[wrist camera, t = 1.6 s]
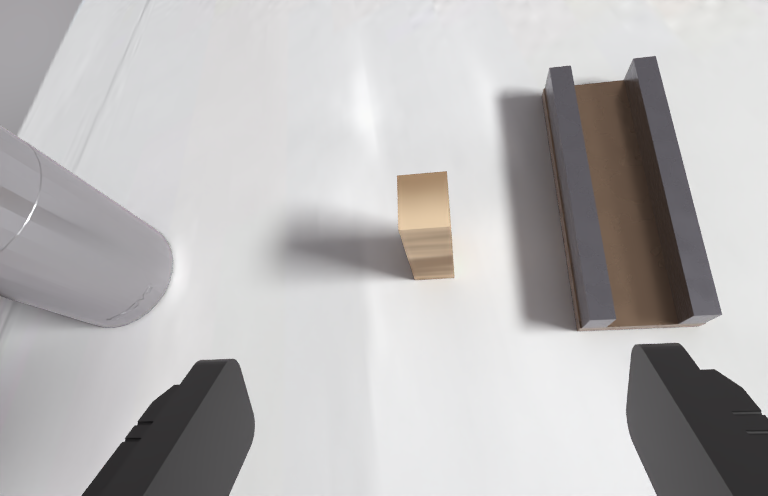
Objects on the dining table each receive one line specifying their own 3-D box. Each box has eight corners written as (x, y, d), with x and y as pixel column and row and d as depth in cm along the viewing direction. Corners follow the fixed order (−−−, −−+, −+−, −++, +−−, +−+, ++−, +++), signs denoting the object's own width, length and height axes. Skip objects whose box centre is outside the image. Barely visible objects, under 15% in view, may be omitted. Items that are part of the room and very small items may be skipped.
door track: (699, 326, 34) (723, 314, 31) (577, 331, 35) (588, 320, 32) (642, 85, 41) (656, 55, 38) (541, 96, 42) (548, 68, 39)
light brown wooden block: (454, 277, 38) (450, 226, 29) (414, 280, 38) (398, 230, 29) (451, 233, 39) (446, 171, 30) (413, 236, 40) (397, 175, 30)
